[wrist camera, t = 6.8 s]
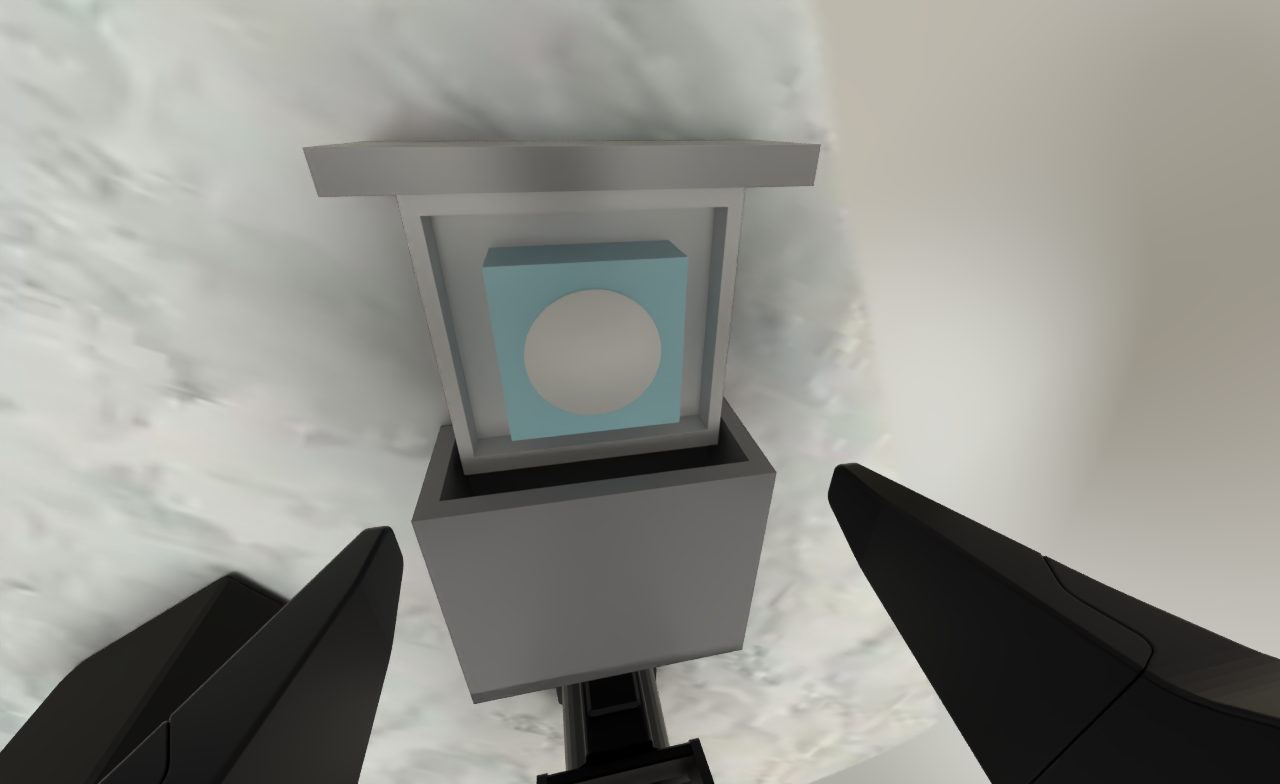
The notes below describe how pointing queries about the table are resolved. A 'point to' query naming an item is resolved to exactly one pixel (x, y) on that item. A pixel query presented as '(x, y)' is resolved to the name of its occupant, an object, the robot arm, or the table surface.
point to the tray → (558, 215)
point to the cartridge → (588, 334)
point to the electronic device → (133, 687)
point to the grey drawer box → (594, 560)
